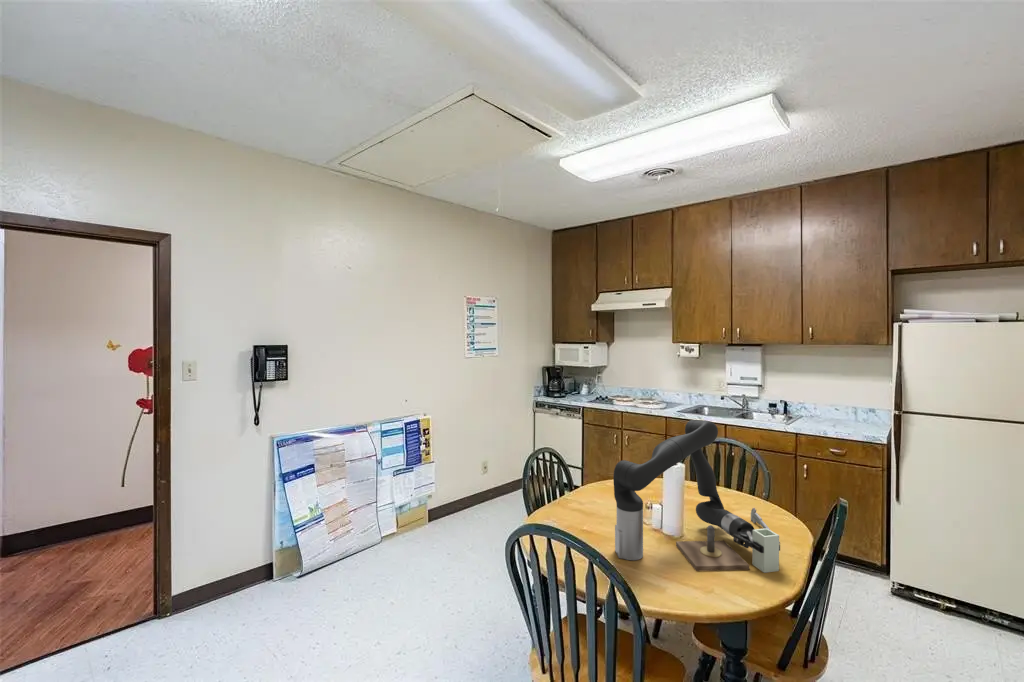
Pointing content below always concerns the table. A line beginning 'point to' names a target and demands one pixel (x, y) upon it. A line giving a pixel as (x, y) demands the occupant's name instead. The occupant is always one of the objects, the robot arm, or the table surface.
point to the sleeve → (766, 550)
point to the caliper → (757, 519)
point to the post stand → (711, 554)
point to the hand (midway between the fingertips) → (771, 549)
